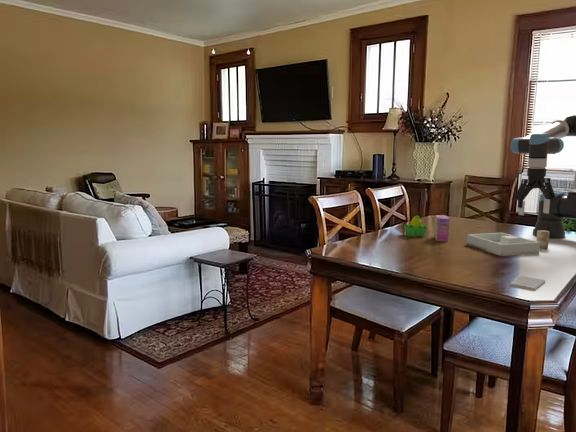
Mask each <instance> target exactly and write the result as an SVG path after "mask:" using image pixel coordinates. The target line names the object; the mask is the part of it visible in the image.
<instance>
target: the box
mask: <svg viewBox="0 0 576 432" xmlns="http://www.w3.org/2000/svg"><path fill="white" fill-rule="evenodd" d="M449 229H450V218H449V216H448V215H444V214H440V215H439V214H436V215H435V219H434V239H435V241H436V242H445V243H448V242H449Z"/></svg>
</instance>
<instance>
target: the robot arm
mask: <svg viewBox="0 0 576 432" xmlns="http://www.w3.org/2000/svg"><path fill="white" fill-rule="evenodd" d="M565 137H576V113H571V114H568V115H566V116H562V117H560V118H558V119H556V120H554V121H553V122H551V124H550V125H548V126H545V127H543V128H541V129H539V130H537V131H534V132H532V133H530V134H528V135H526V136H523V137H513V138H512V140H511V141H510V151H511V152H512V153H513V154H528V157H527V171H526V173H527V174H526V176H527V178H522V179H521V181H520V185H519V187H518V189H517V192H516V193H515V195H514V198H513V199H514V200H516V201H517V208H518V213H517V214H518V215H519V216H525V209H526V208H525V206H526V205H525V204H526V201H525V199H526V197H527V196H528V195H529V194H530V193H531V191H533V189H539V191H541V192H540V193H541V194H540V195H539V199H538V211H537V220H536V223H535V226H534V228H533V229H532V235H533V236H536V237H537V231H538V230H544V231H549V239H561V238H562V239H564V238H566V231H565V227H564V222H563V220H564V219H570V220H576V172H575V173H574V179H573V185H572V189H570V190H569V191H567V195H566V193H565V192H562V191H560V192H554V188H553V186H552V182H551V181H552V180H551V177H547V169H546V168H547V166H548V165H547V161H548V155H555V154H559V153H561V152H562V151H563V149H564V146H565V145H564V144H565V143H564V140H562V138H565Z"/></svg>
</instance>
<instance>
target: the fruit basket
mask: <svg viewBox="0 0 576 432" xmlns="http://www.w3.org/2000/svg"><path fill="white" fill-rule="evenodd" d="M410 220H411V221H410V224H403V227H404V230H405V231H404V233H405V235H406V237H416V236H420V238H424V237H425V235H426V231H427V230H428V227H427V226H426V225H423V224H422V220H421V218H420V216H419V215H415V216H413V217H412V219H410Z"/></svg>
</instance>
